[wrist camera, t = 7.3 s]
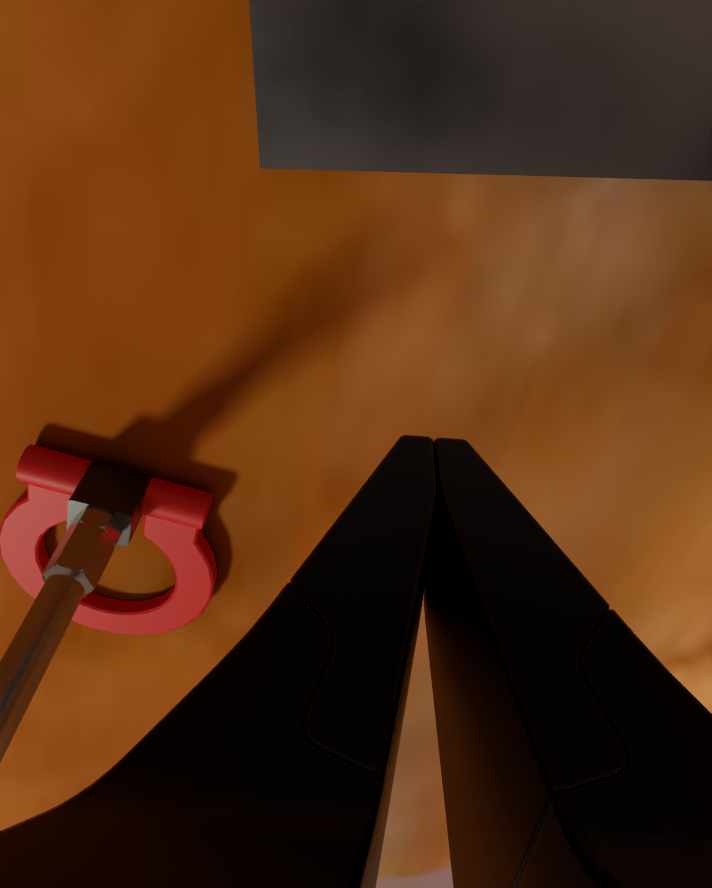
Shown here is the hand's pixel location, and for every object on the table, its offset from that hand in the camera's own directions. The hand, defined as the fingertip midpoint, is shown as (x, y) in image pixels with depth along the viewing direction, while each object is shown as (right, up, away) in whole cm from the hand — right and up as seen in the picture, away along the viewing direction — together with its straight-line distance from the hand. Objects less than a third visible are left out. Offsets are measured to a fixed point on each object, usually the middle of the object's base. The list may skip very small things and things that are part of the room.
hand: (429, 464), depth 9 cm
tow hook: (-11, -4, +18) cm, 21 cm away
